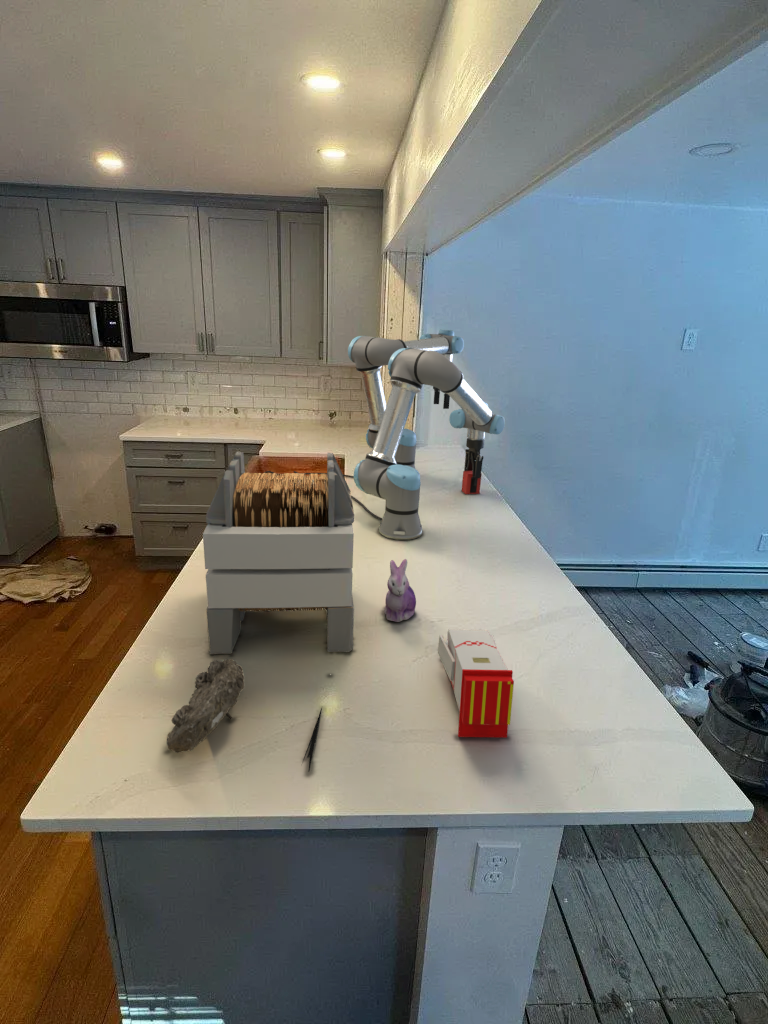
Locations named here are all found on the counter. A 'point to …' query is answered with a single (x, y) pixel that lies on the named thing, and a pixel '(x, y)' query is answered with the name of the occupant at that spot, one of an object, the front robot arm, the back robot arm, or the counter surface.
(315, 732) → the feather
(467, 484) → the block
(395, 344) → the back robot arm
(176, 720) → the fossil
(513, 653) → the counter surface
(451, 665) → the toy
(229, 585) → the record crate
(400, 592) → the figurine
